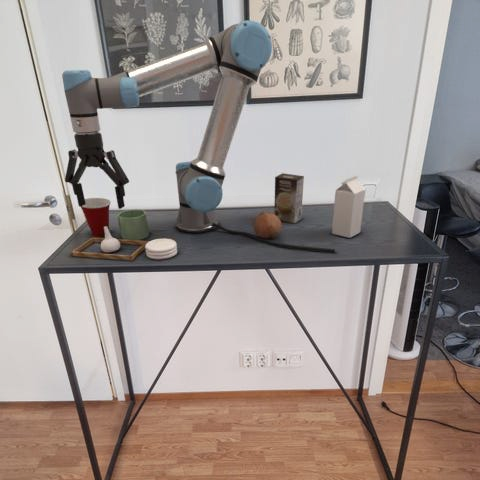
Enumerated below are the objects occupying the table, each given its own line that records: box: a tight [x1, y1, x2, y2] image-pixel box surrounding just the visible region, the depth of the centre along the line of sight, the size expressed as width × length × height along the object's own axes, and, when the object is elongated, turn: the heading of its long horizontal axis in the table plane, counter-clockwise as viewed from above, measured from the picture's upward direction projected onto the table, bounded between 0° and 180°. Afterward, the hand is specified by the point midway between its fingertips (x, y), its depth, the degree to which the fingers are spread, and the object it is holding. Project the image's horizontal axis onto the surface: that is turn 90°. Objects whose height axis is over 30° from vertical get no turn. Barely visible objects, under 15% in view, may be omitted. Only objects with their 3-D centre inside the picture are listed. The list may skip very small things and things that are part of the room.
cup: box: [117, 209, 150, 241], centre depth 148 cm, size 10×10×8 cm
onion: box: [253, 211, 283, 241], centre depth 142 cm, size 10×9×10 cm
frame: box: [70, 237, 149, 261], centre depth 139 cm, size 21×13×1 cm, turn 76°
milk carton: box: [331, 174, 366, 239], centre depth 141 cm, size 7×7×19 cm
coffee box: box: [273, 172, 305, 224], centre depth 157 cm, size 9×6×16 cm
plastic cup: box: [80, 197, 112, 238], centre depth 150 cm, size 11×11×12 cm
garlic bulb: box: [100, 226, 121, 254], centre depth 137 cm, size 6×6×8 cm
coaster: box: [144, 238, 178, 261], centre depth 135 cm, size 10×10×4 cm
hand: (101, 206), depth 132 cm, fingers open, 13 cm apart
